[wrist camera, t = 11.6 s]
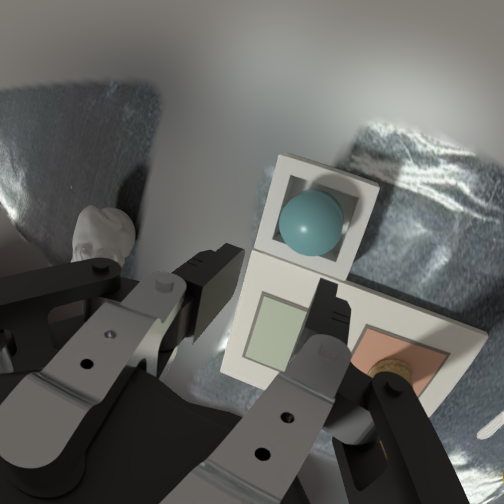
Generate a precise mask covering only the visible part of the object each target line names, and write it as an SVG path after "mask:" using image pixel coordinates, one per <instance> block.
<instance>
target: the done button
mask: <svg viewBox="0 0 504 504" xmlns="http://www.w3.org/2000/svg"><path fill="white" fill-rule="evenodd" d="M343 223H344V214H343V210H342V207H341V205H340V203H339V202H338V201H337V199H336V198H335V197H334V196H332V195H331V194H329V193H328V192H326V191H323V190H319V189H309V190H305V191H303V192H301V193H299V194H297V195H296V196H295V197H294V198H293V199H292V200H290V201H289V202H288V203H287V204H286V205H285V207H284V208H283V210H282V212H281V215H280V219H279V228H280V233H281V236H282V238H283V240H284V241H285V243H286V244H287V245H288V246H289V247H290V248H291V249H292V250H293V251H295V252H297V253H299V254H301V255H305V256H319V255H322V254H325V253H327V252H329V251H330V250H331V249H332V248H334V246H335V245H336V244H337V242H338V241H339V239H340V236H341V233H342V228H343Z"/></svg>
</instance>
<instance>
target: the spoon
mask: <svg viewBox="0 0 504 504" xmlns="http://www.w3.org/2000/svg"><path fill="white" fill-rule="evenodd" d="M503 424H504V410H503V411H502V412H501V413H500V414H499V415H497V416H496V417H495V418H494V419H493V420H492V421H491V422H490V423H488V424H487V425H486V426H484V427H483V428H482V429H481V430H480V431H479V432H478V433H477V438H478V439H480V440H481V439H487V438H488V437H490V436H491V435H492V434H493V433H494V432H496V430H497V429H498V428H500V427H501V425H503Z"/></svg>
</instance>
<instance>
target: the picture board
mask: <svg viewBox="0 0 504 504" xmlns="http://www.w3.org/2000/svg"><path fill="white" fill-rule="evenodd" d="M320 278H323V279H326V280H329V281H332V282H334V283H337V284H338V289H337V294H336V297H338V298H341V299H344V300H346V301H347V302H348V304H349V305H350V307H351V309H352V310H351V318H350V319H351V320H350V328H349V337H348V345H347V346H348V348H349V349H350V351H351V354H352V358H351V362H352V364H353V365H354V366H355V367H356V368H358V369H359V370H360V371H362V372H363V373H365V374H367V373H368V371H369V370H370V369H371V368H372V367H373V366H374V365H376V364H378V363H380V362H382V361H384V360H389V359H393V360H400V361H403V362H405V363H407V364H408V365H409V366H410V367H411V369H412V371H413V376H414V377H413V389H414V391H415V393H416V395H417V397H418V399H419V401H420V402H421V404H422V406H423V408H424V410H425V412H426V414H427V416H428V418H429V417H430V416H431V415H432V413H433V412H434V411H435V410H436V409H437V407H438V406H439V405H440V404H441V403H442V401H443V400H444V399H445V398H446V396H447V395H448V394H449V393H450V391H451V390H452V389H453V387H454V386H455V385H456V383H457V382H458V381H459V379H460V378H461V377H462V375H463V374H464V373H465V371H466V370H467V368H468V367H469V366H470V364H471V363H472V361H473V360H474V358H475V357H476V355H477V354H478V353H479V351H480V349H481V348H482V346H483V345H484V343H485V342H486V340H487V339H488V337H489V336H488V334H487V332H485V331H483V330H480V329H477V328H475V327H472V326H469V325H467V324H464V323H461V322H459V321H456V320H453V319H451V318H448V317H445V316H443V315H440V314H437V313H435V312H432V311H429V310H427V309H424V308H421V307H418V306H416V305H413V304H410V303H408V302H405V301H402V300H400V299H397V298H394V297H391V296H389V295H386V294H383V293H381V292H378V291H375V290H372V289H370V288H367V287H364V286H362V285H359V284H356V283H353V282H351V281H348V280H345V281H343V280H340V279H338V278H335V277H332V276H329V275H327V274H324V273H321V272H319V271H316V270H313V269H310V268H308V267H305V266H302V265H299V264H297V263H294V262H291V261H288V260H286V259H283V258H280V257H277V256H275V255H272V254H269V253H266V252H264V251H261V250H258V249H255V248H254V249H253V250H252V253H251V256H250V260H249V264H248V268H247V271H246V275H245V279H244V283H243V287H242V290H241V294H240V298H239V302H238V305H237V309H236V313H235V317H234V321H233V324H232V328H231V332H230V336H229V339H228V343H227V347H226V351H225V355H224V358H223V362H222V366H221V370H220V372H222V373H224V374H226V375H229V376H231V377H233V378H236V379H238V380H241V381H243V382H245V383H248V384H250V385H253V386H255V387H258V388H260V389H263V390H266V388H267V387H268V386H269V385H270V383H271V382H272V381H273V379H274V378H275V377H276V376H277V374H278V373H279V372H283V373H284V372H285V369H286V366H287V364H288V361H289V359H290V356H291V353H292V351H293V348H294V345H295V343H296V340H297V337H298V335H299V332H300V329H301V326H302V324H303V321H304V318H305V316H306V313H307V311H308V308H309V306H310V303H311V301H312V298H313V295H314V293H315V290H316V288H317V285H318V282H319V280H320Z"/></svg>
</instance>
